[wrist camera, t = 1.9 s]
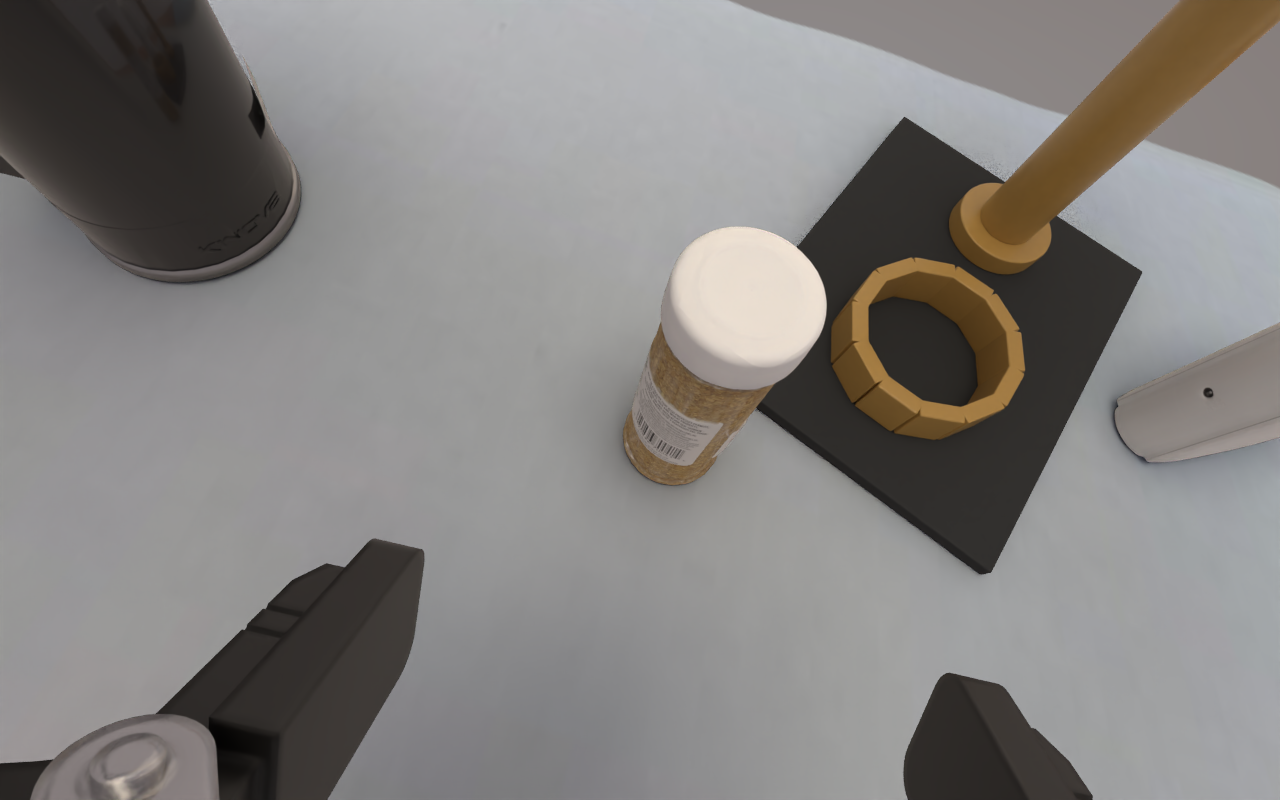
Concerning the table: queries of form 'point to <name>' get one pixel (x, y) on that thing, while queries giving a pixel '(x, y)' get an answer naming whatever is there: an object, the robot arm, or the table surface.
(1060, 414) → the drip mat
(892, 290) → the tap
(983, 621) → the table surface
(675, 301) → the sprinkles bottle
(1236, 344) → the photo printer
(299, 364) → the table surface
